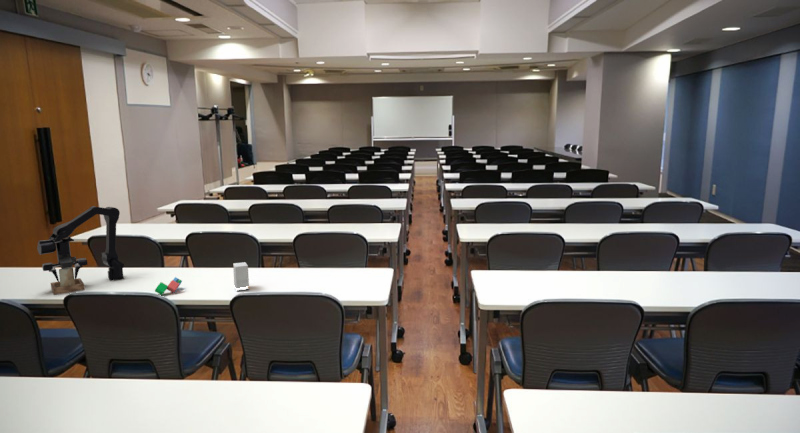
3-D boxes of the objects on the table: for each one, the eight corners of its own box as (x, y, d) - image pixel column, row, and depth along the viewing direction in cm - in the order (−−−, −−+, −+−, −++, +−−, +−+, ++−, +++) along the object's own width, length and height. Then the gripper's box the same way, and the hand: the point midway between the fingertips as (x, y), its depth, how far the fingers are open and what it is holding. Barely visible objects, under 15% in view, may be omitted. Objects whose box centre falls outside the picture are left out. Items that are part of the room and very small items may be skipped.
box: (68, 290, 252) (66, 269, 250) (60, 290, 252) (58, 269, 250) (75, 287, 257) (73, 266, 255) (67, 287, 257) (65, 266, 255)
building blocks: (167, 302, 249) (181, 283, 257) (170, 296, 243) (184, 277, 251) (153, 294, 247) (167, 275, 255) (155, 288, 241) (170, 269, 249)
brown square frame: (80, 283, 263) (80, 278, 263) (84, 289, 253) (84, 283, 253) (51, 288, 255) (50, 282, 254) (53, 294, 245) (53, 288, 245)
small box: (249, 290, 253) (248, 265, 250) (236, 292, 250) (235, 267, 248) (246, 285, 260) (245, 261, 258) (234, 287, 257) (232, 263, 255)
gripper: (42, 256, 239) (46, 287, 241) (87, 251, 251) (90, 280, 253) (40, 252, 247) (44, 282, 250) (84, 247, 259) (87, 275, 262)
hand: (67, 280), depth 253 cm, fingers open, 7 cm apart
